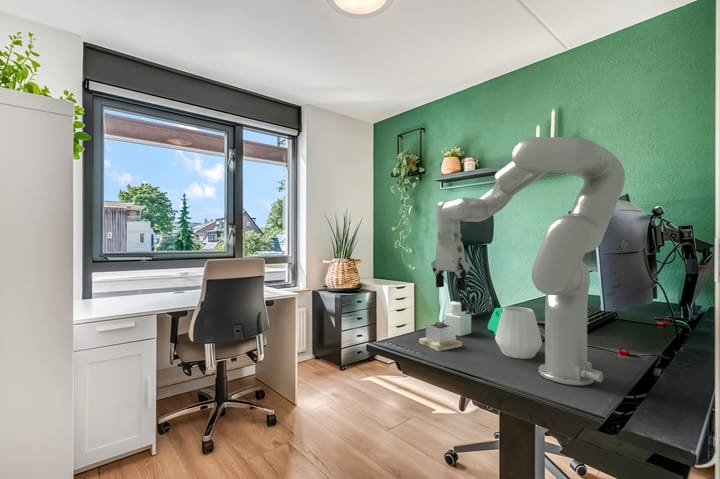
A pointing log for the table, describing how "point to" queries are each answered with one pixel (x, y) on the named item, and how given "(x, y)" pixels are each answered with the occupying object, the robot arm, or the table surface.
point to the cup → (518, 333)
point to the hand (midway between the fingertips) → (450, 288)
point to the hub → (441, 334)
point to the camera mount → (495, 320)
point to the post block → (442, 346)
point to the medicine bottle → (459, 318)
